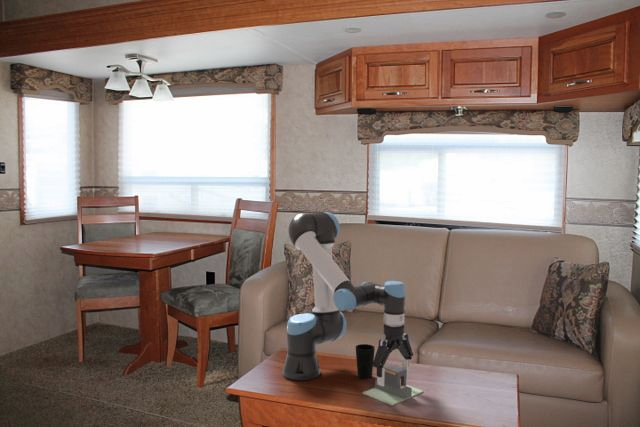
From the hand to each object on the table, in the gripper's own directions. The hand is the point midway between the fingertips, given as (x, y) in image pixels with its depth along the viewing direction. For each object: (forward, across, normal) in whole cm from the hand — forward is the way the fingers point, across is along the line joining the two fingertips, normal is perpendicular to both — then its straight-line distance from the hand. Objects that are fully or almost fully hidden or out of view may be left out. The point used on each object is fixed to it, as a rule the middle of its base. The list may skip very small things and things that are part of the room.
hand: (393, 380), depth 200 cm
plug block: (+1, 0, -1) cm, 1 cm away
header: (+5, 0, 0) cm, 5 cm away
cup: (+5, +4, +18) cm, 19 cm away
